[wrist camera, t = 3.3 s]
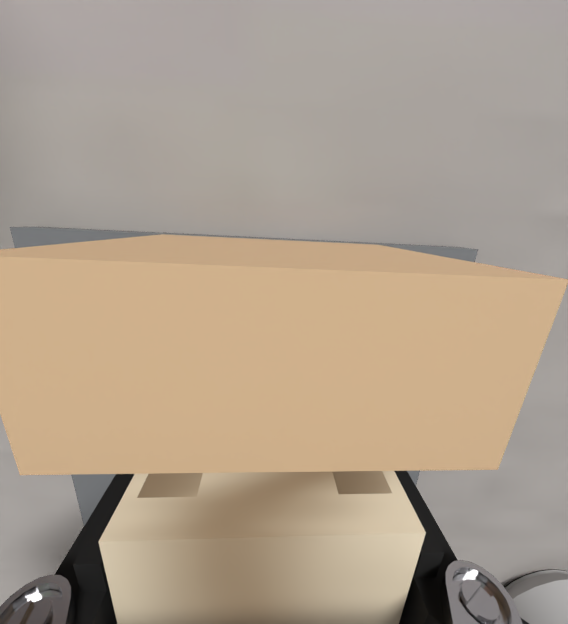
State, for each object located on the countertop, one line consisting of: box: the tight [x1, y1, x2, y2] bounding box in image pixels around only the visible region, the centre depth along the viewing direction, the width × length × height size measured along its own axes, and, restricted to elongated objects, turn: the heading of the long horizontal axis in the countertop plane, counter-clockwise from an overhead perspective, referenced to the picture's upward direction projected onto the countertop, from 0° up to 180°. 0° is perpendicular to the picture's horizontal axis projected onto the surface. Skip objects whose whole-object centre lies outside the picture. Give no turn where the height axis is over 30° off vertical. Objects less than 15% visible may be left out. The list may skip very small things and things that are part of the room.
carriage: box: [99, 471, 426, 624], centre depth 8 cm, size 6×5×5 cm
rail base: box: [0, 227, 568, 526], centre depth 11 cm, size 15×28×7 cm, turn 177°
